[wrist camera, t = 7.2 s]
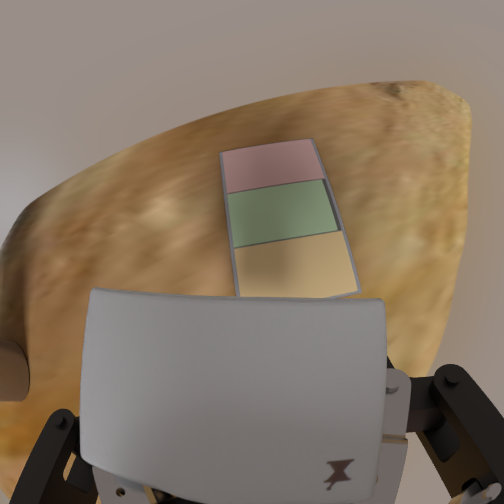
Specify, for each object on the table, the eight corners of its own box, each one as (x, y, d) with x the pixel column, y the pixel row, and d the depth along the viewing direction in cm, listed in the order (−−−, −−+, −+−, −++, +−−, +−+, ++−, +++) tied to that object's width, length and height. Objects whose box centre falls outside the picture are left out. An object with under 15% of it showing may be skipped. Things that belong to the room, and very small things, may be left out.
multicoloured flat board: (239, 315, 26) (238, 314, 25) (220, 155, 33) (219, 151, 33) (360, 293, 25) (362, 291, 25) (312, 140, 33) (312, 137, 32)
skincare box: (311, 338, 15) (397, 292, 4) (307, 407, 14) (379, 506, 3) (209, 333, 16) (85, 279, 5) (205, 401, 14) (76, 467, 3)
